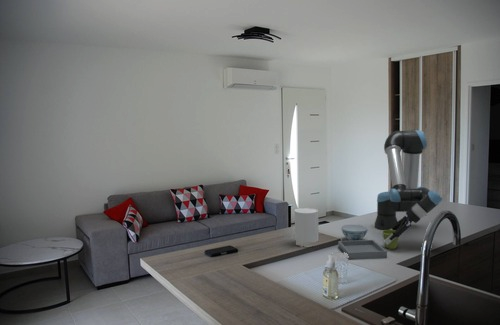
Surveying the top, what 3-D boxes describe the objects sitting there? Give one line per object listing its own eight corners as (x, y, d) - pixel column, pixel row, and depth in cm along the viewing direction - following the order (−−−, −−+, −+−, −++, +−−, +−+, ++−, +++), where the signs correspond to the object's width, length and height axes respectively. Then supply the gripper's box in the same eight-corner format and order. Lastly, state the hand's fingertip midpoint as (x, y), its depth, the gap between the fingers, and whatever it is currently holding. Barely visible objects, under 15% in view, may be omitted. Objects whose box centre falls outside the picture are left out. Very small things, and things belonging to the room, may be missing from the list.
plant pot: (401, 250, 209) (401, 234, 208) (383, 249, 211) (383, 234, 210) (398, 244, 219) (398, 230, 218) (381, 244, 220) (381, 229, 220)
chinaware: (338, 242, 226) (338, 229, 225) (344, 235, 239) (344, 223, 239) (364, 245, 219) (364, 232, 218) (369, 238, 232) (369, 225, 232)
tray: (338, 247, 218) (338, 241, 218) (373, 245, 219) (373, 239, 218) (348, 259, 198) (348, 252, 198) (386, 257, 199) (386, 251, 198)
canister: (304, 249, 217) (303, 214, 214) (290, 242, 228) (290, 209, 226) (323, 245, 223) (322, 211, 221) (309, 239, 235) (308, 206, 233)
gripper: (424, 223, 198) (391, 251, 204) (418, 213, 219) (388, 239, 225) (413, 213, 199) (380, 241, 205) (408, 204, 220) (379, 229, 226)
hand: (385, 240), depth 215 cm, fingers closed on plant pot, 9 cm apart
